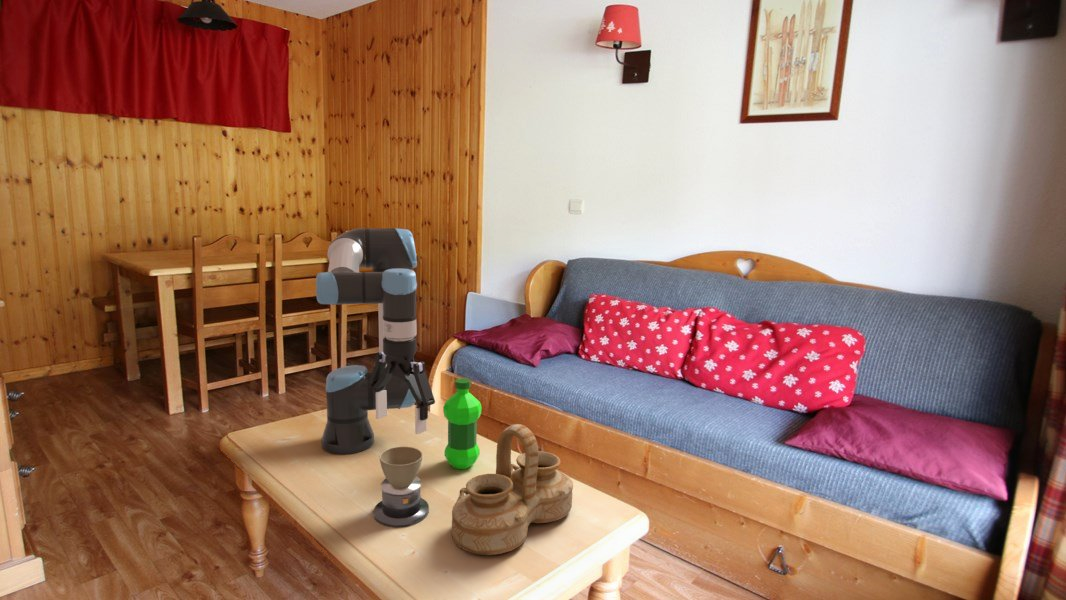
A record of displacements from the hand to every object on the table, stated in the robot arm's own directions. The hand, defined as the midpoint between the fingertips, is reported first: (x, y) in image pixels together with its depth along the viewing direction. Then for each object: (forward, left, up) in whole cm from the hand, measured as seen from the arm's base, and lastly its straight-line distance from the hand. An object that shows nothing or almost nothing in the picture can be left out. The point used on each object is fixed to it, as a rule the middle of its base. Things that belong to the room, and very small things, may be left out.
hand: (400, 424), depth 144 cm
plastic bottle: (-19, +21, -23) cm, 36 cm away
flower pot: (0, 0, -15) cm, 15 cm away
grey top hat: (0, 0, -22) cm, 23 cm away
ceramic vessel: (+13, +24, -23) cm, 36 cm away
